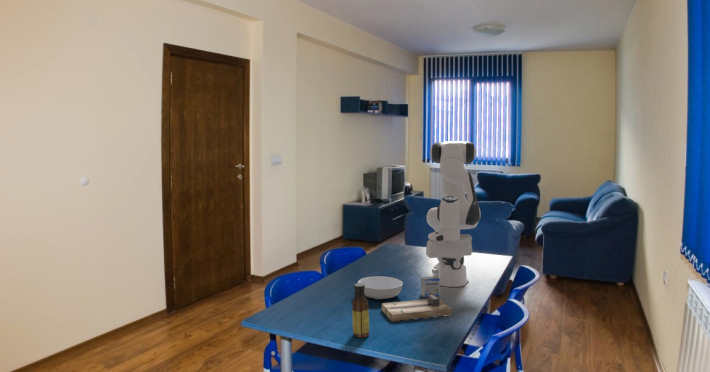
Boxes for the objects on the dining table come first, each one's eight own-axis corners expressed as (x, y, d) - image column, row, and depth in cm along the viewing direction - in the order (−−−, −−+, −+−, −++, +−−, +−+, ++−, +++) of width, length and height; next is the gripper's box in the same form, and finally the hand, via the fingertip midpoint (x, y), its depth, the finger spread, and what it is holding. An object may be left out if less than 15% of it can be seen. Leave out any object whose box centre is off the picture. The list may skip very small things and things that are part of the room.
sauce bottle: (368, 331, 200) (368, 281, 198) (369, 338, 194) (369, 286, 192) (351, 332, 200) (351, 282, 198) (352, 338, 194) (352, 287, 192)
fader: (427, 301, 225) (427, 294, 224) (433, 301, 225) (433, 294, 225) (432, 306, 219) (432, 299, 219) (439, 305, 220) (439, 298, 219)
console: (381, 310, 224) (381, 303, 224) (437, 304, 231) (437, 298, 230) (392, 321, 211) (392, 314, 210) (451, 315, 217) (451, 308, 217)
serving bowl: (399, 305, 230) (400, 290, 230) (353, 302, 235) (353, 287, 234) (404, 290, 251) (405, 277, 250) (362, 288, 255) (362, 274, 254)
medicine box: (424, 297, 240) (424, 279, 239) (420, 294, 245) (420, 276, 244) (439, 296, 242) (440, 278, 242) (435, 293, 247) (436, 275, 246)
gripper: (468, 232, 226) (467, 263, 228) (424, 234, 221) (424, 266, 223) (475, 235, 220) (474, 266, 222) (430, 237, 215) (430, 270, 217)
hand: (449, 266), depth 222 cm, fingers open, 5 cm apart
